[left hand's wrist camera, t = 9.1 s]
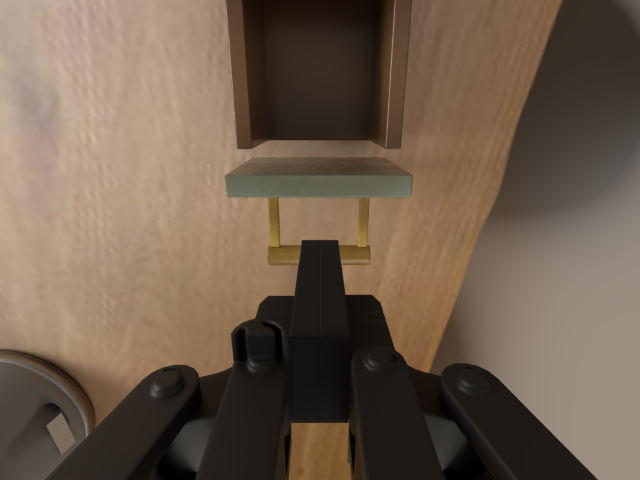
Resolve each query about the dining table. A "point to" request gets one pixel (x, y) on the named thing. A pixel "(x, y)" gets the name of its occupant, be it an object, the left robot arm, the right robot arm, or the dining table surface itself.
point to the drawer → (318, 102)
